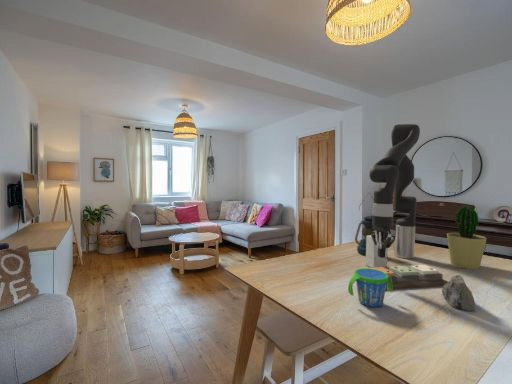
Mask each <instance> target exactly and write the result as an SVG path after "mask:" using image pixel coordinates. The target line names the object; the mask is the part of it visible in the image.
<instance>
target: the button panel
mask: <svg viewBox="0 0 512 384" xmlns="http://www.w3.org/2000/svg"><path fill="white" fill-rule="evenodd" d="M387 269H388V270H389V268H387ZM390 271H391V270H390ZM392 272H393V271H392ZM443 276H444V274H443V273H441V272H439V271H438V274H421V273H419V272H417V275H404V276H401V275H399V274H397V273H395V272H394V276H390V277H391V279H392V283H393V290H400V289H415V288H416V289H417V288H431V287H432V288H433V287H443V286H444V285H445V284H446V283H447V282H449V281H448V280H445V279H443ZM386 290H387V284H386ZM386 290H385V291H386ZM387 291H388V290H387Z"/></svg>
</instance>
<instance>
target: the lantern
mask: <svg viewBox="0 0 512 384" xmlns="http://www.w3.org/2000/svg"><path fill="white" fill-rule="evenodd" d="M368 195H370V196H371V199H373V201H374V196H372V194H371V193H370V192H368V193H367V195H365V197H364V199H363V201H362V202H361V203H360V205H359V207H358V208H359V209H358V210H360V207H361V205H362V204H363V202H364V201H365V199H366V198H367V197H368ZM362 225H363V228H362V227H361V226H362ZM357 226H358V227H357V229H356V233H355V236H354V241H355V243H356V244H357V246H356V250H357V254H359V255H361V256H365V257H366V236H369V235H371V234H370V232H373V231H374V228H375V227H374V226H373V225H372V216H370V215H367V216H364V217H363V219H362V220H360V223H358V225H357ZM361 228H362V231H361V230H360V229H361ZM360 232H361V234H362V236H363V237H364V238H362V239H360V241H359V240H358V239H359V234H360Z"/></svg>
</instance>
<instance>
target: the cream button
mask: <svg viewBox="0 0 512 384" xmlns="http://www.w3.org/2000/svg"><path fill="white" fill-rule="evenodd" d="M409 268H410V269H412V270H414V271H417V272H419V273H421V274H438V272H439V270H438V269H436V268H432V267H431V266H428V265H427V264H420V265H419V264H418V265H410V266H409Z"/></svg>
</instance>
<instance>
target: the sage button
mask: <svg viewBox="0 0 512 384" xmlns="http://www.w3.org/2000/svg"><path fill="white" fill-rule="evenodd" d="M388 269H389V270H391V271H393V272H395V273H397V274H399V275H401V276H404V275H417V271H414V270H412V269H410V267H407V266H405V265H399V266H398V265H397V266H389V268H388Z"/></svg>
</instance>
